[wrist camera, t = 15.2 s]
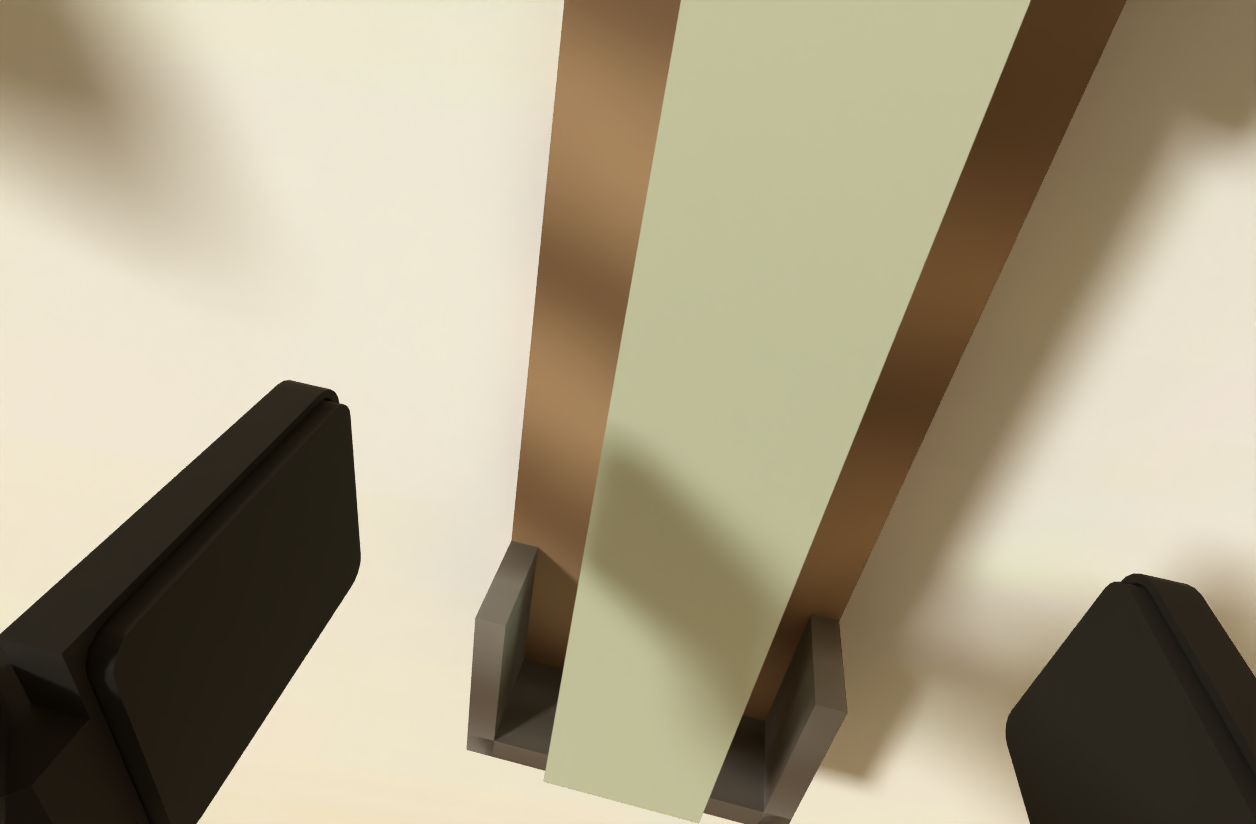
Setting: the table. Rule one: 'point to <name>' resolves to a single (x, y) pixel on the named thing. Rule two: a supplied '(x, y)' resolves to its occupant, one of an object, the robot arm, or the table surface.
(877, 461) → the cradle
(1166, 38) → the table surface
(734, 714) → the slat
